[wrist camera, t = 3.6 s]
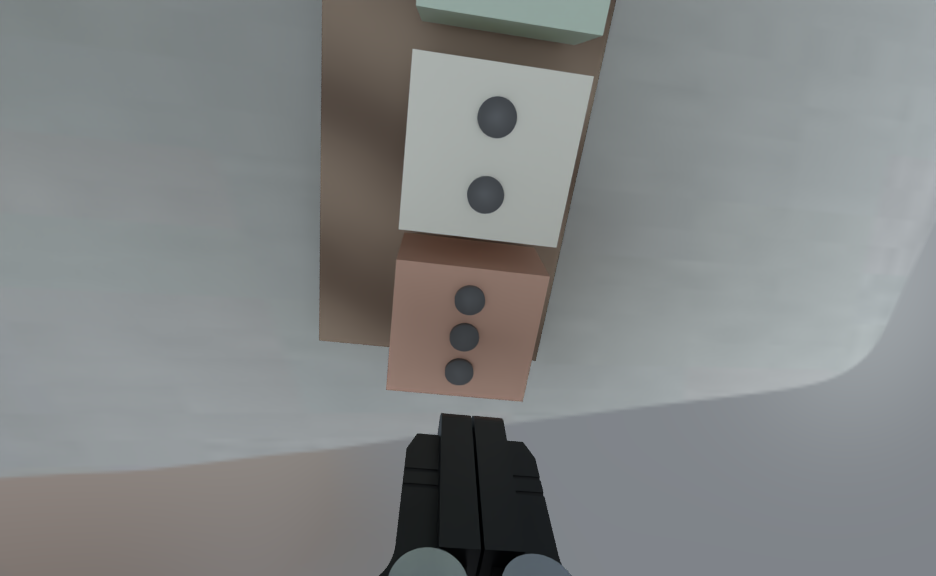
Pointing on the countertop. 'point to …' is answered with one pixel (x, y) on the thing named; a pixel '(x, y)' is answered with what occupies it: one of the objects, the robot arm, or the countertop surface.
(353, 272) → the board
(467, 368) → the key three
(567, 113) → the key two
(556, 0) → the key one
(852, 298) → the countertop surface
